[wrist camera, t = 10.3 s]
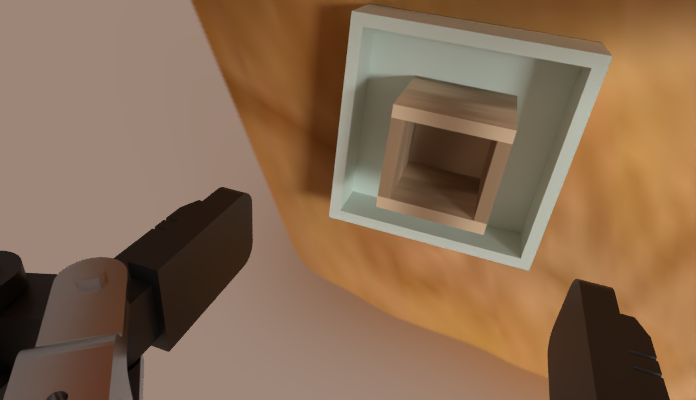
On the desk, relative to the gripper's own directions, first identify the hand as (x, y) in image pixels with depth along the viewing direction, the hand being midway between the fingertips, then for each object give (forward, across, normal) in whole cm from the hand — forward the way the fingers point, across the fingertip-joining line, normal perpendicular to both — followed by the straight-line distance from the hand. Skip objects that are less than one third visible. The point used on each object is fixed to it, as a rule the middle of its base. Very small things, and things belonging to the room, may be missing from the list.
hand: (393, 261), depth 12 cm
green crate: (+20, 0, +4) cm, 20 cm away
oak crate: (+19, 0, +4) cm, 19 cm away
